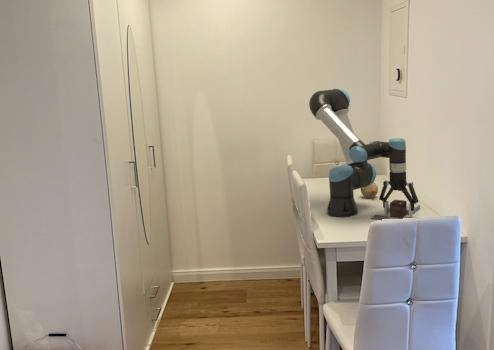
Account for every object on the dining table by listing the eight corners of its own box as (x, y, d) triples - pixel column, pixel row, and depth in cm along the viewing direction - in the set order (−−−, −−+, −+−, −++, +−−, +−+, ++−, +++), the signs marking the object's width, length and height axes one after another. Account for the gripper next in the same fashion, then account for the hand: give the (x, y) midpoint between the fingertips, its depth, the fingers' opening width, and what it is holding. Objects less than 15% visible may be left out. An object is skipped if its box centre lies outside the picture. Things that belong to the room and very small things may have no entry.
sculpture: (369, 179, 278) (381, 178, 263) (374, 195, 278) (386, 194, 263) (354, 184, 276) (365, 183, 261) (359, 200, 276) (370, 199, 261)
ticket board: (383, 211, 243) (383, 207, 242) (393, 205, 251) (392, 201, 251) (411, 215, 234) (411, 210, 234) (420, 208, 243) (420, 204, 242)
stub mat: (370, 219, 233) (370, 218, 233) (375, 215, 238) (375, 214, 238) (384, 220, 229) (384, 219, 229) (389, 217, 233) (389, 216, 233)
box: (395, 213, 238) (394, 199, 237) (407, 215, 235) (406, 200, 233) (389, 217, 234) (389, 202, 232) (402, 218, 230) (401, 203, 228)
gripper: (371, 171, 234) (372, 215, 238) (419, 174, 219) (420, 220, 224) (377, 168, 240) (378, 211, 244) (425, 171, 225) (425, 216, 230)
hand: (398, 215), depth 234 cm, fingers open, 11 cm apart
